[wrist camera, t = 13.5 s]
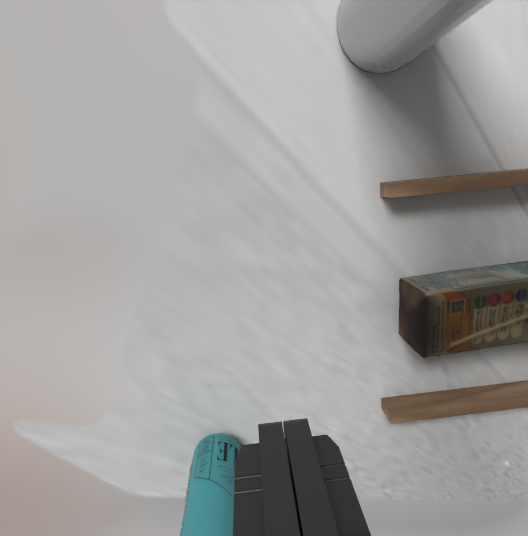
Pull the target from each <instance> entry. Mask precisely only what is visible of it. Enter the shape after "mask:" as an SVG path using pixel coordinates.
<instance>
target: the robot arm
mask: <svg viewBox="0 0 528 536" xmlns="http://www.w3.org/2000/svg"><path fill="white" fill-rule="evenodd" d="M491 1H493V0H341V3H340V6H339V9H338V16H337V31H338V36H339V41H340V43H341V46H342V48H343V50H344V52H345V53H346V55H347V56H348V58H349V59H350V60H351V61H352V62H353V63H354V64H355V65H356V66H358V67H360V68H362V69H363V70H366V71H369V72H373V73H386V72H391V71H394V70H396V69H398V68H400V67H402V66H403V65H405V64H406V63H408V62H410V61H411V60H413V58H415V57H416V56H417V55H419V54H420V53H421V52H423V51H424V50H426V49H427V48H429V47H430V46H431V45H433V44H434V43H435V42H437V41H438V40H439V39H441V38H442V37H444V36H445V35H446V34H448V33H449V32H450V31H452V30H453V29H454V28H456V27H457V26H459V25H460V24H461V23H463V22H464V21H465V20H467V19H468V18H470V17H471V16H472V15H474V14H475V13H476V12H478V11H479V10H480V9H482V8H483V7H485V6H486V5H487V4H489V3H490V2H491ZM283 423H284V433H283V427H282V422H273V423H265V424H258V428H259V443H257V444H249V445H242V447H241V449H240V451H239V453H238V455H237V457H236V459H235V480H234V513H233V536H371V534H370V532H369V529H368V526H367V523H366V521H365V518H364V515H363V513H362V510H361V507H360V504H359V501H358V499H357V496H356V493H355V490H354V488H353V485H352V482H351V480H350V477H349V474H348V471H347V468H346V466H345V463H344V460H343V457H342V455H341V452H340V449H339V447H338V446H337V445H336V444H335V443H334V442H333V441H332V439H331V438H330V437H329V436H328V435H321V436H313V437H312V435H311V431H310V427H309V424H308V420H307V418H305V419H297V420H289V421H283ZM284 435H285V439H284Z"/></svg>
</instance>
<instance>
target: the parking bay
mask: <svg viewBox="0 0 528 536" xmlns="http://www.w3.org/2000/svg"><path fill="white" fill-rule="evenodd" d="M526 184H528V169H519V170H508V171H498V172H488V173H477V174H467V175H456V176H446V177H436V178H425V179H415V180H405V181H394V182H384V183H380V197H390V198H394V197H404V196H414V195H425V194H435V193H445V192H455V191H465V190H475V189H486V188H496V187H506V186H516V185H526ZM523 407H528V381H520V382H512V383H504V384H495V385H487V386H479V387H470V388H462V389H454V390H445V391H437V392H429V393H420V394H412V395H404V396H395V397H387V398H382V409H383V411H384V413H385V414H386V416H387V418H388V419H389V421H390V422H391V424H393V423H401V422H409V421H417V420H425V419H434V418H442V417H450V416H458V415H466V414H474V413H482V412H490V411H499V410H507V409H515V408H523Z"/></svg>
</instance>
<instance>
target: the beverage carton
mask: <svg viewBox="0 0 528 536" xmlns="http://www.w3.org/2000/svg"><path fill="white" fill-rule="evenodd" d="M399 292H400V308H399V334H400V335H401V336H402V337H403V338H404V340H405V341H406V342H407V343H408V344H409V345H410V346H411V347H412V348H413V349H414V350H415V351H416V352H417V353H418V354H419V355H420V356H421V357H423V358H425V357H430V356H440V355H445V354H451V353H458V352H465V351H471V350H478V349H483V348H490V347H496V346H503V345H510V344H516V343H523V342H528V261H525V262H517V263H508V264H501V265H494V266H487V267H479V268H471V269H463V270H456V271H448V272H441V273H434V274H428V275H421V276H414V277H408V278H400V282H399Z"/></svg>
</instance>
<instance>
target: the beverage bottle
mask: <svg viewBox="0 0 528 536" xmlns="http://www.w3.org/2000/svg"><path fill="white" fill-rule="evenodd" d="M240 449H241V446H240V444H239V443H238V441H237V440H236V439H234V438H233V437H231V436H229V435H226V434H221V433H218V434H212V435H209V436H207V437H205V438H203V439H202V440H201V441H200V442H199V444H198V445H197V447H196V449H195V451H194V456H193V462H192V464H191V465H192V468H191V466H190V470H191V473H190V476H189V477H190V480H189V479H188V480H189V483H188V484H189V486H188V492H187V494H186V495H187V498H186V506H185V511H184V517H183V522H182V528H181V534H180V536H233V513H234V480H235V459H236V457H237V455H238V453H239V451H240Z"/></svg>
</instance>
